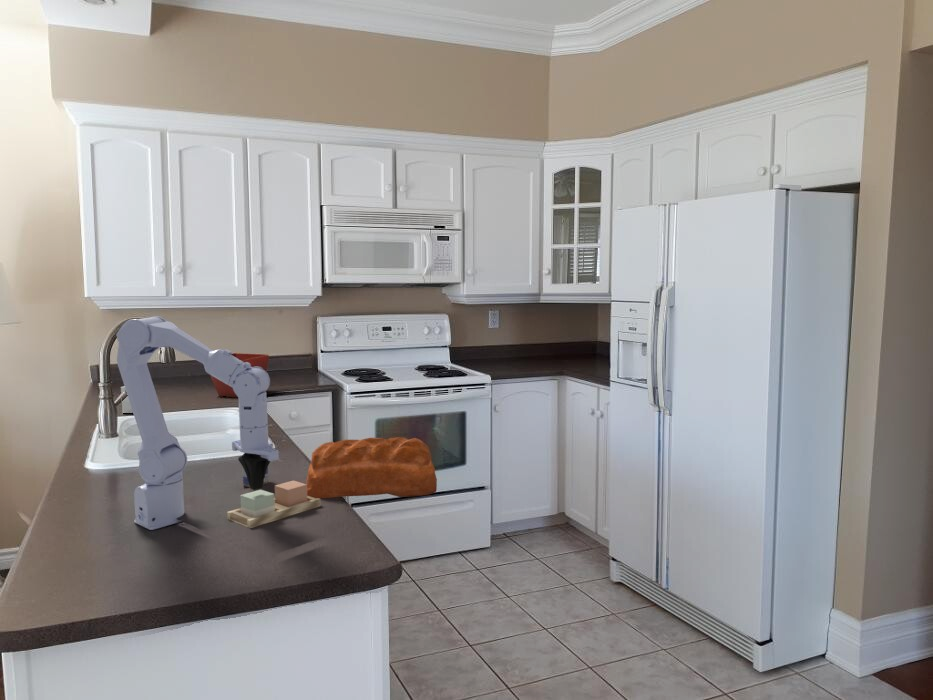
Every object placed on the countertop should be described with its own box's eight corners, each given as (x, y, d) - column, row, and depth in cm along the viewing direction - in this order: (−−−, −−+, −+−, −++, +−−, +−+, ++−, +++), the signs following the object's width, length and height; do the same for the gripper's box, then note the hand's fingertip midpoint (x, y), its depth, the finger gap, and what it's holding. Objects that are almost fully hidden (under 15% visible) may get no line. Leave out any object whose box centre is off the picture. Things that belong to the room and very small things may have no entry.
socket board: (250, 533, 149) (250, 521, 149) (227, 523, 155) (226, 511, 155) (321, 510, 163) (321, 499, 162) (297, 502, 169) (296, 491, 168)
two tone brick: (275, 516, 156) (274, 493, 155) (254, 523, 152) (253, 499, 151) (261, 511, 159) (260, 489, 158) (241, 517, 155) (240, 495, 155)
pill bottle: (260, 481, 186) (258, 439, 184) (273, 486, 182) (271, 443, 180) (238, 487, 181) (236, 443, 180) (251, 492, 177) (249, 448, 176)
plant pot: (243, 400, 302) (241, 359, 300) (206, 397, 309) (204, 358, 307) (271, 392, 320) (269, 354, 318) (235, 390, 326) (234, 353, 324)
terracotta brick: (288, 512, 158) (288, 489, 158) (275, 507, 162) (274, 485, 161) (307, 506, 162) (306, 484, 162) (294, 501, 165) (293, 480, 165)
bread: (439, 497, 172) (438, 443, 170) (303, 505, 168) (301, 449, 166) (432, 478, 187) (431, 428, 186) (308, 485, 183) (306, 434, 181)
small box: (136, 414, 275) (135, 386, 274) (122, 414, 275) (120, 386, 274) (146, 410, 283) (144, 383, 282) (132, 410, 283) (130, 383, 282)
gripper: (290, 427, 151) (292, 490, 153) (251, 417, 161) (253, 477, 162) (260, 433, 146) (263, 498, 148) (222, 423, 156) (225, 485, 157)
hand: (256, 488), depth 155 cm, fingers closed
